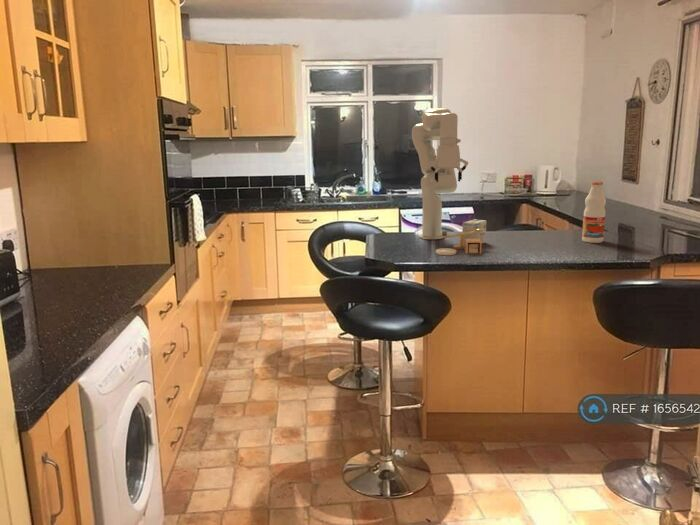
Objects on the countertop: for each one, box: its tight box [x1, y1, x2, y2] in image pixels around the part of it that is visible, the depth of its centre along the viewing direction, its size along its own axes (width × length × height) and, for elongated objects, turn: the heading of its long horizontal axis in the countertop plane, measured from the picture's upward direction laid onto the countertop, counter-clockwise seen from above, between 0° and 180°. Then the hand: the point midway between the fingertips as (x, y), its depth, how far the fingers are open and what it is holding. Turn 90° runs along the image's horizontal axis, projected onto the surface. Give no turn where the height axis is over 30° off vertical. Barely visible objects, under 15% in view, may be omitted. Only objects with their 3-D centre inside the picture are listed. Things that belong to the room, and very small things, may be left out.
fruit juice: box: [581, 181, 607, 244], centre depth 272 cm, size 9×9×28 cm
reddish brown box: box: [464, 239, 483, 255], centre depth 257 cm, size 6×6×5 cm
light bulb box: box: [462, 218, 487, 245], centre depth 274 cm, size 11×7×11 cm, turn 135°
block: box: [468, 243, 479, 254], centre depth 257 cm, size 4×4×4 cm
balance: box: [440, 228, 484, 250], centre depth 266 cm, size 5×20×9 cm, turn 86°
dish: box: [435, 247, 457, 256], centre depth 256 cm, size 9×9×1 cm
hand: (448, 181), depth 257 cm, fingers open, 9 cm apart
